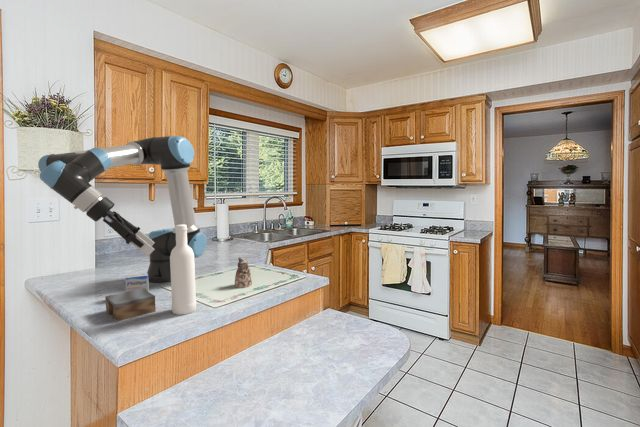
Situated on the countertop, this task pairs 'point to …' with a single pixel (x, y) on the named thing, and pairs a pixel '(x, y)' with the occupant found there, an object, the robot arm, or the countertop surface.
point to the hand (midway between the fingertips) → (151, 249)
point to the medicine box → (136, 282)
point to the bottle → (182, 274)
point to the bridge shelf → (130, 304)
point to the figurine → (243, 274)
